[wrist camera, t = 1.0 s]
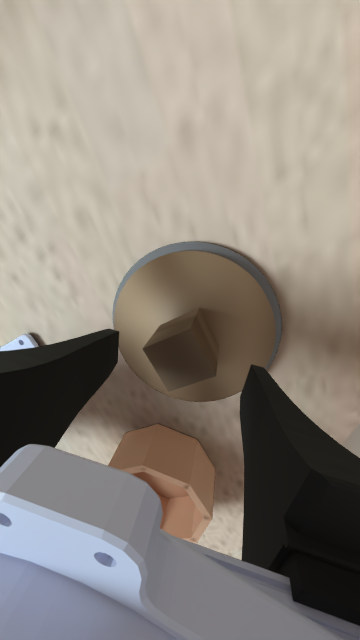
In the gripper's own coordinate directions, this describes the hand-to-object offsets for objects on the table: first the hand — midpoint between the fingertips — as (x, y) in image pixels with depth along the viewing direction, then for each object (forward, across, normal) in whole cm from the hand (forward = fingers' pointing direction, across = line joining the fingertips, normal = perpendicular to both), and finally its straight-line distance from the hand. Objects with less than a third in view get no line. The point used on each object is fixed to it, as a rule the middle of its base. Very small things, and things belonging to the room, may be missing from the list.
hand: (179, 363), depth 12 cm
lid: (+4, 0, 0) cm, 4 cm away
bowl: (+5, 0, +15) cm, 15 cm away
